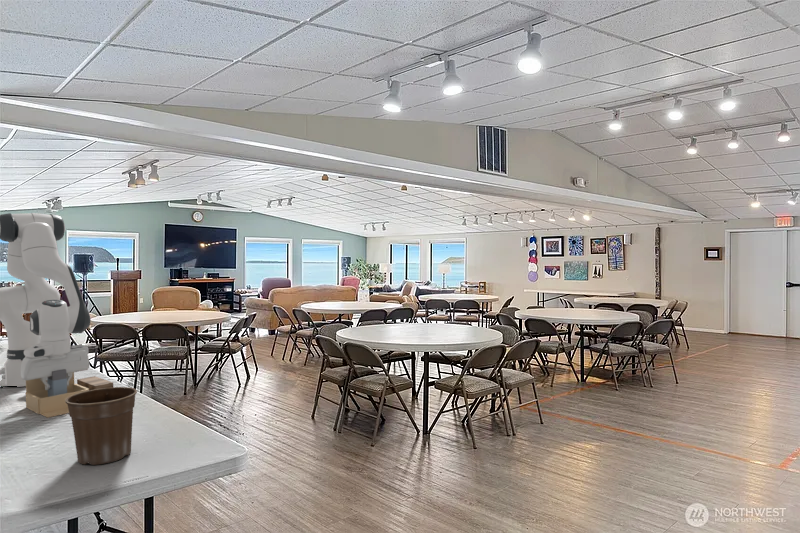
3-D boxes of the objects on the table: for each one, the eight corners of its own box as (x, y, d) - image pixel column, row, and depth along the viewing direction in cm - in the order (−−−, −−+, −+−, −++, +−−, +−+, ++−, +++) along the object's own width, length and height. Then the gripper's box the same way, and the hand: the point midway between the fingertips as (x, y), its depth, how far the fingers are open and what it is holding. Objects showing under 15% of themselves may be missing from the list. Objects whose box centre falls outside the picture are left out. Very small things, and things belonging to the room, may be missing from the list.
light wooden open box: (25, 407, 189) (23, 369, 189) (75, 397, 201) (73, 361, 200) (45, 418, 176) (44, 377, 176) (98, 406, 188) (96, 368, 188)
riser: (77, 395, 203) (77, 379, 202) (95, 392, 207) (94, 376, 207) (95, 403, 192) (95, 386, 192) (113, 399, 197) (113, 382, 197)
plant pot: (60, 457, 143) (57, 395, 143) (126, 440, 155) (124, 383, 154) (78, 475, 132) (75, 407, 131) (148, 456, 143) (146, 393, 142)
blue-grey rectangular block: (47, 398, 191) (46, 369, 191) (60, 395, 194) (59, 367, 194) (54, 401, 187) (53, 371, 187) (67, 398, 190) (66, 369, 190)
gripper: (84, 342, 200) (86, 380, 201) (18, 351, 184) (19, 392, 185) (91, 344, 196) (93, 383, 197) (24, 353, 180) (26, 396, 181)
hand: (57, 387), depth 191 cm, fingers closed on blue-grey rectangular block, 4 cm apart
